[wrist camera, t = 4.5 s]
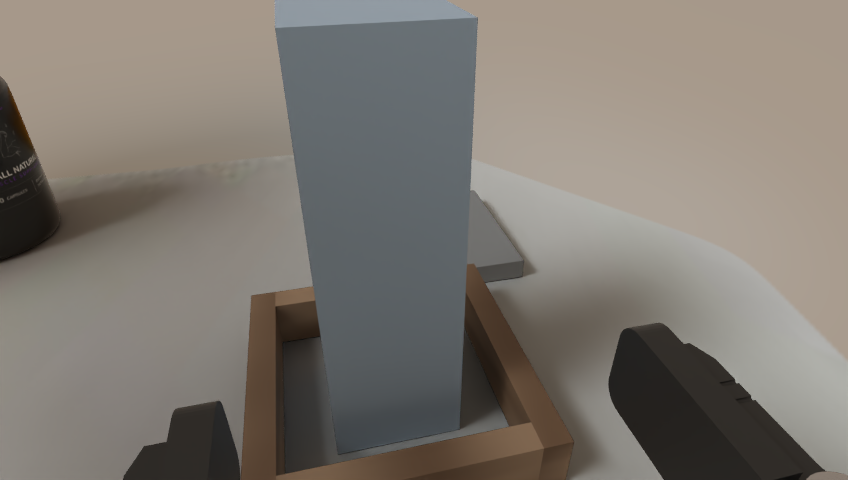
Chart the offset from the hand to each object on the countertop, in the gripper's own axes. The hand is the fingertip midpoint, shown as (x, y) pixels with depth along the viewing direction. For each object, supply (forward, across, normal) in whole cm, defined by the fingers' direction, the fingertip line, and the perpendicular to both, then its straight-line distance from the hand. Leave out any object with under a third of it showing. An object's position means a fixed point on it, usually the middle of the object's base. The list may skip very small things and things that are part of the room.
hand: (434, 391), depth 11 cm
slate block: (+7, 0, +8) cm, 11 cm away
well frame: (+7, 0, +8) cm, 11 cm away
